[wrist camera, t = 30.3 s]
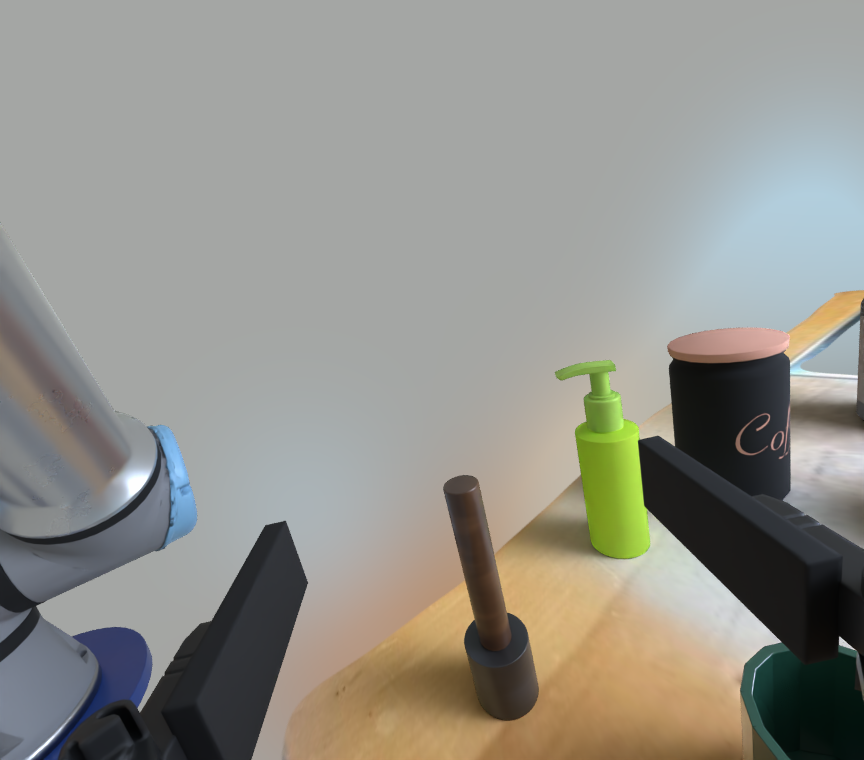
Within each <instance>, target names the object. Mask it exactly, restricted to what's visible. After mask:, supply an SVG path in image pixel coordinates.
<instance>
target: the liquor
mask: <svg viewBox="0 0 864 760" xmlns="http://www.w3.org/2000/svg"><path fill="white" fill-rule="evenodd" d="M857 414H858V415H859V417H860V418H861V419H862V420H864V299H863V301H862V302H861V314H860V339H859V365H858V388H857Z"/></svg>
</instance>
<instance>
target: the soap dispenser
mask: <svg viewBox="0 0 864 760" xmlns="http://www.w3.org/2000/svg"><path fill="white" fill-rule="evenodd" d="M610 371H616V368H615V364H614V363H613V362H612V361H611V360H606V361H594V362H586V363H580V364H575V365H572V366H569V367H566V368H563V369H561V370H558V371H556V372H555V375H556V377H557V378H558V379H559V380H565V379H567V378H570V377H573V376H578V375H584V374H590V381H591V389H592V392H590V393H589V394H587V395H586V396H585V397H584V406H585V413H586V421H587V422H584V423H582V424H581V425H579V426H578V427H577V428H576V430H575V436H576V443H577V450H578V457H579V463H580V469H581V477H582V484H583V491H584V498H585V505H586V512H587V519H588V525H589V532H590V539H591V543H592V545H593V546H594V548H595V549H596V550H598V551H599V552H600V553H602V554H604V555H607V556H609V557H613V558H620V559H627V558H634V557H637V556H640V555H642V554H644V553H645V552H646V551H647V550H648V548H649V546H650V536H649V526H648V516H647V508H646V507H645V506H644V500H643V490H642V479H641V469H640V459H639V449H638V440H640V438H639V429H638V426H637V425H636V424H635V423H634V422H632V421H629V420H626V419H623V414H622V404H621V396H620V394H619V393H618V392H615V391H613V390H610V383H609V374H608V372H610Z"/></svg>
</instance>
